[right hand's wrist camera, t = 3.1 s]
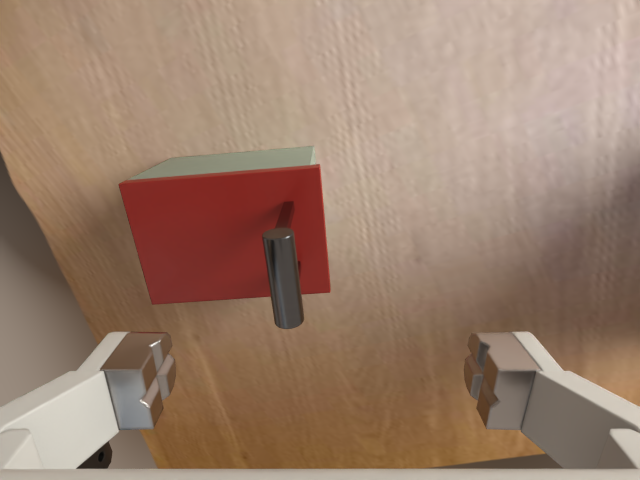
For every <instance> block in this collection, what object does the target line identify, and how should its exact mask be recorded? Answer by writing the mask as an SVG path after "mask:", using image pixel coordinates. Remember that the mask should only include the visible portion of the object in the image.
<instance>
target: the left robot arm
mask: <svg viewBox="0 0 640 480" xmlns="http://www.w3.org/2000/svg"><path fill="white" fill-rule="evenodd" d="M111 458H112V449H111V447H110V444H109V441H108V442H107V443H105V444H104V445H103V446H102V447H101V448H99V449H98V450H97V451H96V452H95V453H94V454H92V455H91V456H90V457H89V458H88V459H87V460H85V461H84V462H83V463H82V464H81V465H80V466H78V467H77V468H76V469H107V468H108V466H109V464H110V463H111Z"/></svg>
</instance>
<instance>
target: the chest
mask: <svg viewBox="0 0 640 480" xmlns="http://www.w3.org/2000/svg"><path fill="white" fill-rule="evenodd" d="M304 165H316V161H315V150H314V146H308V147H296V148H285V149H273V150H261V151H249V152H237V153H225V154H213V155H202V156H190V157H178V158H170V159H168V160H166V161H164V162H162V163H160V164H158V165H156V166H154V167H152V168H150V169H148V170H146V171H144V172H142V173H140V174H138V175H136V176H134V177H132V178H130V179H128V180H134V179H147V178H159V177H171V176H183V175H195V174H207V173H219V172H232V171H244V170H256V169H268V168H280V167H292V166H304Z"/></svg>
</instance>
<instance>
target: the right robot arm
mask: <svg viewBox="0 0 640 480" xmlns="http://www.w3.org/2000/svg"><path fill="white" fill-rule="evenodd" d="M171 347H172V341H171V337H170V335H169V334H168V333H167V332H111V333H108V334H107V335H106V336H105V338H104V339H103V340H102V341H101V342H100V343H99V345H98V346H97V347H96V348H95V349H94V351H93V352H92V353H91V354H90V355H89V356H88V358H87V359H86V360H85V361H84V362H83V364H82V365H81V366H80V367H79V368H78V369H77V371H69V372H67V373H65V374H63V375H61V376H59V377H57V378H56V379H54V380H52V381H50V382H48V383H46V384H44V385H42V386H40V387H38V388H36V389H34V390H32V391H30V392H28V393H26V394H25V395H23V396H21V397H19V398H17V399H15V400H13V401H11V402H9V403H7V404H5V405H3V406H1V407H0V480H640V407H639V406H637V405H635V404H633V403H631V402H629V401H627V400H625V399H623V398H621V397H619V396H617V395H615V394H613V393H611V392H610V391H608V390H606V389H604V388H602V387H600V386H598V385H596V384H594V383H592V382H590V381H588V380H586V379H584V378H582V377H581V376H579V375H577V374H575V373H573V372H571V371H563V369H562V368H561V367H560V366H559V365H558V364H557V362H556V361H555V360H554V359H553V358H552V356H551V355H550V354H549V353H548V352H547V351H546V349H545V348H544V347H543V346H542V345H541V344H540V342H539V341H538V340H537V339H536V338H535V336H534V335H533V334H532V333H530V332H528V331H525V332H506V333H471V335H470V337H469V341H468V347H469V349H470V351H471V354H470V355H469V356H468V357H467V358H466V359H465V365H464V377H465V383H466V386H467V389H468V391H469V393H470V395H471V396H472V397H474V398H475V399H476V400H478V403H477V410H478V412H479V414H480V416H481V418H482V421H483V423H484V425H485V427H486V429H504V430H521V432H522V433H523V434H524V435H525V436H527V437H528V438H529V439H530V440H531V441H532V442H534V443H535V444H536V445H537V446H538V447H539V448H541V449H542V450H543V451H544V452H545V453H546V454H548V455H549V456H550V457H551V458H552V459H554V460H555V461H556V462H557V463H558V464H559V465H561V466H562V467H563V468H564V469H76V468H77V467H78V466H80V465H81V464H82V463H83V462H84V461H85V460H87V459H88V458H89V457H90V456H91V455H92V454H94V453H95V452H96V451H97V450H98V449H99V448H101V447H102V446H103V445H104V444H105V443H107V442H108V441H109V440H110V439H111V438H112V437H114V436H115V435H116V434H117V433H118V432H119V430H136V429H154V427H155V425H156V423H157V421H158V419H159V416H160V414H161V412H162V410H163V403H162V400H164V399H165V398H166V397H168V396H169V395H170V393H171V391H172V389H173V387H174V382H175V377H176V364H175V359H174V358H173V357H172V356H171V355H170V354H169V351H170V349H171Z"/></svg>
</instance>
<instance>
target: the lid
mask: <svg viewBox="0 0 640 480" xmlns="http://www.w3.org/2000/svg"><path fill="white" fill-rule="evenodd" d="M119 188H120V191H121V195H122V199H123V202H124V206H125V209H126V213H127V216H128V220H129V224H130V227H131V231H132V234H133V238H134V241H135V245H136V248H137V252H138V256H139V259H140V263H141V266H142V270H143V273H144V277H145V281H146V284H147V288H148V291H149V295H150V298H151V302H152V304H168V303H182V302H197V301H212V300H227V299H241V298H256V297H271V301H272V308H273V314H274V321H275V324H276V326H278V327H279V328H282V329H291V328H295V327H297V326H299V325H301V324H302V323H303V321H304V313H303V304H302V296H301V294H315V293H330V275H329V264H328V252H327V240H326V228H325V217H324V205H323V193H322V181H321V169H320V164H317V165H304V166H292V167H280V168H268V169H256V170H244V171H232V172H219V173H207V174H195V175H183V176H171V177H159V178H147V179H134V180H126V181H124V182H122V183H120V184H119Z"/></svg>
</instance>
